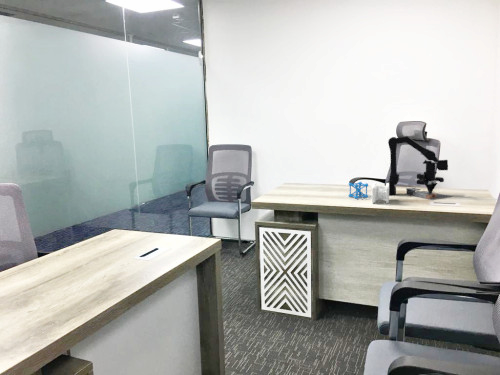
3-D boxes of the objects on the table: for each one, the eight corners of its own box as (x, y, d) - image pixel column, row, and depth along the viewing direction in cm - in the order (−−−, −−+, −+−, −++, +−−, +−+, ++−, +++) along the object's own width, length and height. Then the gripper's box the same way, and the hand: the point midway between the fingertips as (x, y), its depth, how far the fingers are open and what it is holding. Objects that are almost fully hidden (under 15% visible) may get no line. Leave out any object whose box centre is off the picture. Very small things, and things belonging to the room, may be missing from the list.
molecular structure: (347, 196, 280) (347, 182, 278) (360, 195, 283) (360, 181, 281) (355, 199, 271) (355, 184, 269) (368, 198, 273) (369, 183, 272)
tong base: (406, 194, 278) (406, 187, 278) (412, 193, 281) (412, 186, 280) (429, 199, 261) (429, 191, 260) (435, 198, 263) (435, 190, 262)
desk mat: (432, 201, 257) (432, 200, 257) (402, 194, 280) (402, 193, 280) (454, 197, 266) (454, 196, 265) (423, 191, 288) (423, 190, 288)
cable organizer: (388, 204, 252) (389, 186, 250) (371, 204, 255) (371, 185, 253) (388, 199, 266) (389, 182, 264) (372, 199, 269) (372, 182, 267)
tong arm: (416, 194, 275) (416, 191, 275) (418, 194, 276) (418, 190, 276) (434, 197, 263) (434, 194, 263) (436, 197, 264) (436, 193, 264)
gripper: (430, 167, 278) (430, 190, 280) (410, 170, 270) (410, 193, 273) (444, 169, 267) (444, 192, 270) (423, 172, 260) (423, 196, 263)
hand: (430, 193), depth 269 cm, fingers closed
